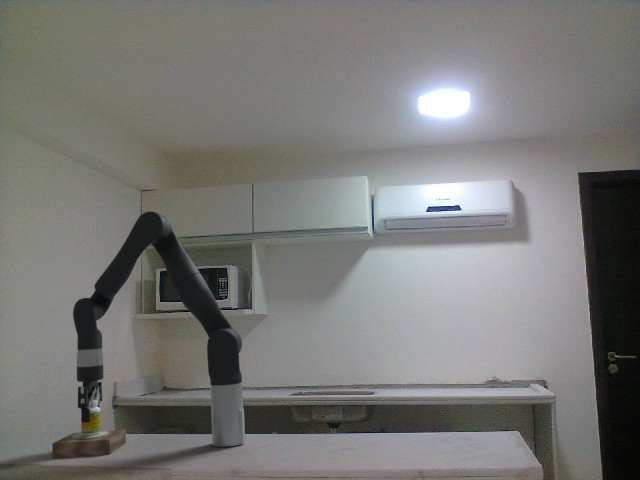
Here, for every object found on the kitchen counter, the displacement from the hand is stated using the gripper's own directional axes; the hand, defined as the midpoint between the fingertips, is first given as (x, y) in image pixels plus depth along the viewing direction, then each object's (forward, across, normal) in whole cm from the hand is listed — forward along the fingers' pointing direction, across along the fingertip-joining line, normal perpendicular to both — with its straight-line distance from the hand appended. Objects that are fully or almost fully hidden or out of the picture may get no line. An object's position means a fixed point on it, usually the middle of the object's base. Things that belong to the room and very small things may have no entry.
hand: (90, 419), depth 181 cm
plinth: (+9, 0, 0) cm, 9 cm away
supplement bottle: (+4, 0, 0) cm, 4 cm away
